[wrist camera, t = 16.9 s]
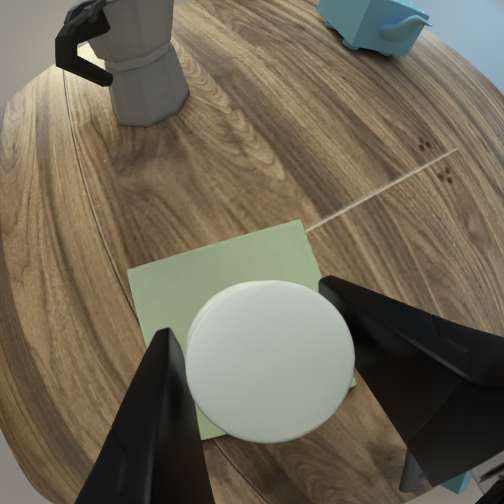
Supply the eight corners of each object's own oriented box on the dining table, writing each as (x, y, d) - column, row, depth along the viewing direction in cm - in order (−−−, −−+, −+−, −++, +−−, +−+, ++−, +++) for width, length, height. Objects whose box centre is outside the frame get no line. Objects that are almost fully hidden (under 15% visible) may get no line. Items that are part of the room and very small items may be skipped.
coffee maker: (141, 65, 26) (118, -53, 8) (206, 68, 26) (206, -67, 9) (80, 158, 22) (-6, 21, 4) (154, 168, 22) (89, -25, 5)
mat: (353, 383, 19) (356, 384, 18) (184, 440, 16) (183, 443, 16) (298, 221, 22) (300, 218, 21) (128, 271, 19) (126, 269, 19)
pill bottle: (263, 401, 13) (304, 480, 5) (185, 356, 13) (131, 394, 5) (308, 327, 14) (398, 324, 6) (233, 282, 14) (240, 225, 6)
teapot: (308, 11, 33) (324, -45, 20) (358, 20, 35) (378, -29, 22) (367, 79, 28) (406, 3, 15) (420, 88, 30) (461, 31, 16)
